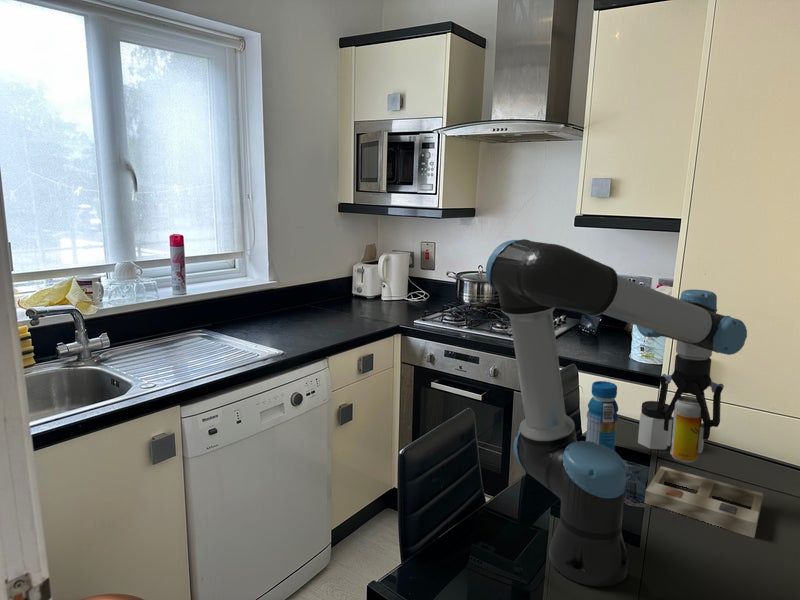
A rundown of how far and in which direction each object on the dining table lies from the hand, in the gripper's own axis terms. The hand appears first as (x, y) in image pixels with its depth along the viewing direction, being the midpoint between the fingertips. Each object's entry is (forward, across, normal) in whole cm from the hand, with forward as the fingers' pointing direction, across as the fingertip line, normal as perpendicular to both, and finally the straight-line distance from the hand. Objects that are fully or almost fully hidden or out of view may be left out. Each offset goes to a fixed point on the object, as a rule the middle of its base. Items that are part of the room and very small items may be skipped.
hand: (684, 447), depth 137 cm
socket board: (+13, -5, +2) cm, 14 cm away
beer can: (+3, 0, 0) cm, 3 cm away
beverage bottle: (+13, +24, -12) cm, 30 cm away
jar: (+13, +12, -27) cm, 32 cm away
